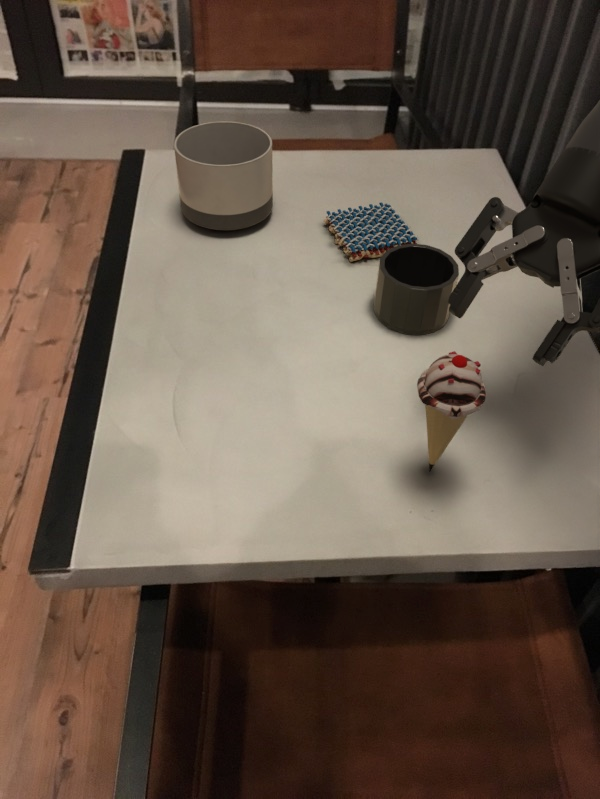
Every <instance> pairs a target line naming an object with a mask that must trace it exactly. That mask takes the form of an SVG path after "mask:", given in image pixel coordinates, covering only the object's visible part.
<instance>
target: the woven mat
mask: <svg viewBox="0 0 600 799" xmlns="http://www.w3.org/2000/svg"><path fill="white" fill-rule="evenodd" d="M378 204H379V205H376V204H375V205H374V206H373V204H372V203H369V204H368V206H369V207H367V206H364V207H363V206H362V205H358V209H357V208H353V209H352V207H347V211H346V209H344V210H341V209H340V208H339V209H337V212H335V211H332V212H331V211H330V210H326V214H327V216H326V217H325V219H324V220H323V222H324V224H326V225H329V226H328V231H329V232H331V233H332V234H334V244H335V245H337V244H338V245H339V246H340V247H343V249H342V250H343V253H345V255H346V256H348V257H349V259H348V260H349V263H352V262H355V261H361V260H362V259H363V258H370V259H374V258H381V257H382V255H383V254H384V253H385V252H386V251H387V250H389V249H391V248H393V247H395V246H399V245H406V244H418V243H419V241H420V240H419V235H416V234H415V233H414V231H413V230H411V226H408V224H407V223H406V222H405V221H404V219H403V218H401V215H399V213H398V212H396V210H395V209H394V207H393V206H392V205H391V204H388V203H383V202H379V203H378Z"/></svg>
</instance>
